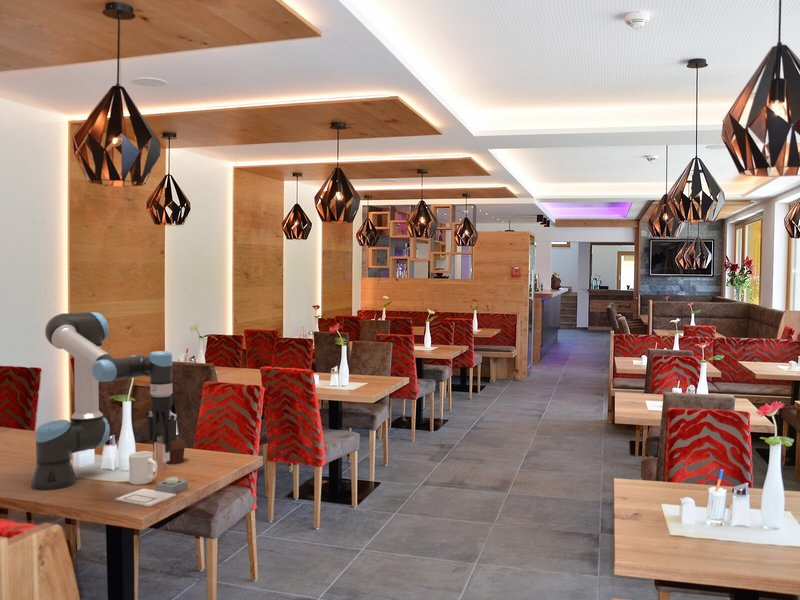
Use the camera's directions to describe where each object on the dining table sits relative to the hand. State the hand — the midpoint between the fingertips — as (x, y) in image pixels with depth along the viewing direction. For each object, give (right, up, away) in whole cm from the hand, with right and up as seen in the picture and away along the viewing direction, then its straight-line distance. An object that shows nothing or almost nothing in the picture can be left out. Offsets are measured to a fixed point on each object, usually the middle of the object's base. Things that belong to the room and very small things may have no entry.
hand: (162, 460), depth 252 cm
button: (+1, -12, +9) cm, 14 cm away
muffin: (-12, -12, +49) cm, 52 cm away
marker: (0, -3, 0) cm, 3 cm away
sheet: (-6, -13, 0) cm, 15 cm away
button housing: (+1, -13, +9) cm, 16 cm away
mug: (-13, -13, +19) cm, 27 cm away
